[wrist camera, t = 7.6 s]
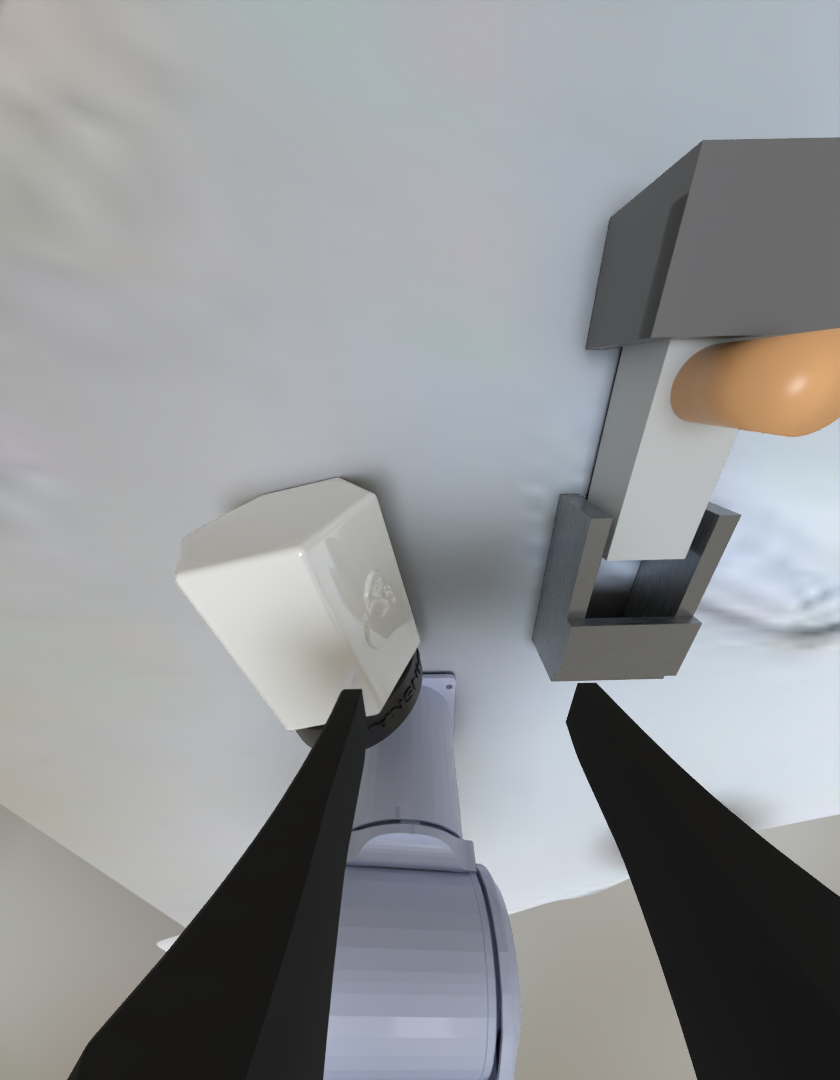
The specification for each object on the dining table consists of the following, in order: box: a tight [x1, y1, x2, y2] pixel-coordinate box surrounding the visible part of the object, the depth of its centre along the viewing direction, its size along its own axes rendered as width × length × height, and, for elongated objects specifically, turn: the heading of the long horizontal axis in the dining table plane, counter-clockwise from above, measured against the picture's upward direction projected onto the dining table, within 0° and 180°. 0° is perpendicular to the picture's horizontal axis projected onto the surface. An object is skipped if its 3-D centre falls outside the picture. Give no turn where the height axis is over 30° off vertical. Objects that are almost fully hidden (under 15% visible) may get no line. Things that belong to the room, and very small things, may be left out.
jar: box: [175, 478, 422, 749], centre depth 17 cm, size 9×8×12 cm
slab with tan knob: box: [587, 328, 840, 561], centre depth 13 cm, size 13×4×7 cm, turn 1°
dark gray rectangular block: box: [586, 138, 840, 350], centre depth 11 cm, size 4×7×4 cm, turn 91°
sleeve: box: [533, 494, 741, 681], centre depth 18 cm, size 11×7×4 cm, turn 1°
